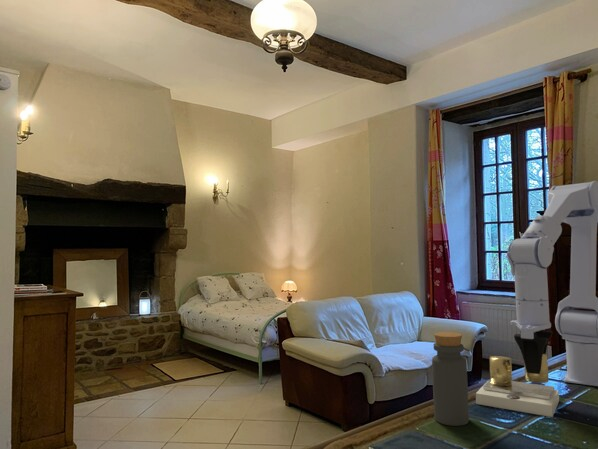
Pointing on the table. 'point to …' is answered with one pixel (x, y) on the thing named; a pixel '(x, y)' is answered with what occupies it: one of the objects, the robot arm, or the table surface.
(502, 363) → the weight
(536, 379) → the cylinder
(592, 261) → the robot arm
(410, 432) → the table surface
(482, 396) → the scale
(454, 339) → the bottle
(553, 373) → the table surface
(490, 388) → the scale pan
